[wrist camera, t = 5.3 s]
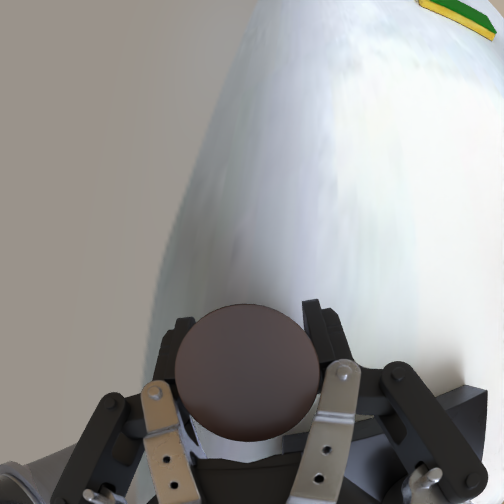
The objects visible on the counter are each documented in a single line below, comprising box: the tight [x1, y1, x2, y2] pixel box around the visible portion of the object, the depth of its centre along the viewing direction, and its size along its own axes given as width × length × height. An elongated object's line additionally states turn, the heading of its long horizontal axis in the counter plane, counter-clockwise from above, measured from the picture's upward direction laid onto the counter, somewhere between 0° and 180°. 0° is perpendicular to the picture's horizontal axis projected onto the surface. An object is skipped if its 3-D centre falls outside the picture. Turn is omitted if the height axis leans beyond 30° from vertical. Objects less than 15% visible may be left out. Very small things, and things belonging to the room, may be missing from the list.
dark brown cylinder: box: [175, 304, 320, 442], centre depth 13 cm, size 5×5×9 cm
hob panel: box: [282, 385, 488, 503], centre depth 13 cm, size 14×10×3 cm
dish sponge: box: [418, 0, 497, 41], centre depth 24 cm, size 7×14×2 cm, turn 72°
